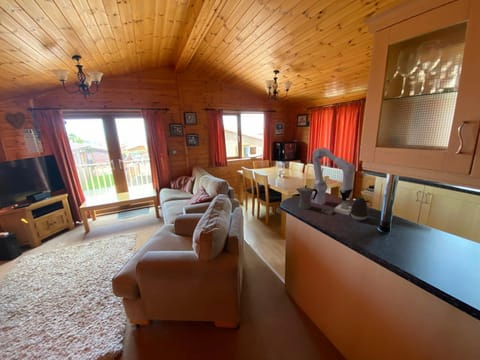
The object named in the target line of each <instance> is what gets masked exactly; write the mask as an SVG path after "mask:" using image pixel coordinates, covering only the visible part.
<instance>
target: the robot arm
mask: <svg viewBox="0 0 480 360" xmlns="http://www.w3.org/2000/svg"><path fill="white" fill-rule="evenodd" d="M324 157H326V158H328V159H330V160H331V161H332V162H334V164H335V165H336V166H337V167H339V168H340V169H341V170H342V171H341V172H342V185H341V189H340V190H339V193H340V195H341V200H342V201H341V202H344V201H346V202H347V200H348V199H350V196H351V193H352V192H353V190H354V188H353V175H354V172H355V171H356V165H354V163H349V161H346V160H344V158H343V157H338V156H337V155H335V154H333V152H331V151H330V149H328V148H326V147H321V148H315V149H314V150H313V151H312V164H313V166H312V167H313V171H314V177H315V181H314V182H313V189H316V190H317V191H318V193H317V195H316V197H315V199H312V198H314V195H315V191H312V192H311V200H310V203H314V204H319V205H324V204H325V203H327V201H325V196H326V192H327V190H328V185H327V183H326V181H325V180H324V177H323V170H322V163H321V161H322V159H323V158H324Z"/></svg>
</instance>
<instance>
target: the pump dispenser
mask: <svg viewBox="0 0 480 360" xmlns="http://www.w3.org/2000/svg"><path fill="white" fill-rule="evenodd" d="M368 203H370V200H366V198H364V197H361V196H359V197H356V199H355V200H354V201H353V203H352V204H351V206H350V207H351V211H350V213H351V214H350V215H351V217H352V219H354V220H357V221H364V220H366V219H367V217H368V216H369V207H368Z"/></svg>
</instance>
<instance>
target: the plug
mask: <svg viewBox="0 0 480 360" xmlns="http://www.w3.org/2000/svg"><path fill="white" fill-rule="evenodd" d="M341 204H342V206H341V208H342V209H345V210H347V209H348V206H350V205H349V204H350V203H349V202H348V201H347V200H346V201H341Z"/></svg>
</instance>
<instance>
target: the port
mask: <svg viewBox="0 0 480 360" xmlns="http://www.w3.org/2000/svg"><path fill="white" fill-rule="evenodd" d="M341 206H342V203H340V204H338V205H337V206H336V207H334V209H335V210H334V212H335V213H339V214H343V215H347V216H350V215H351V213H350V211H351V207H352V206H350V205H348V209H347V210H345V209H342V208H341Z"/></svg>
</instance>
